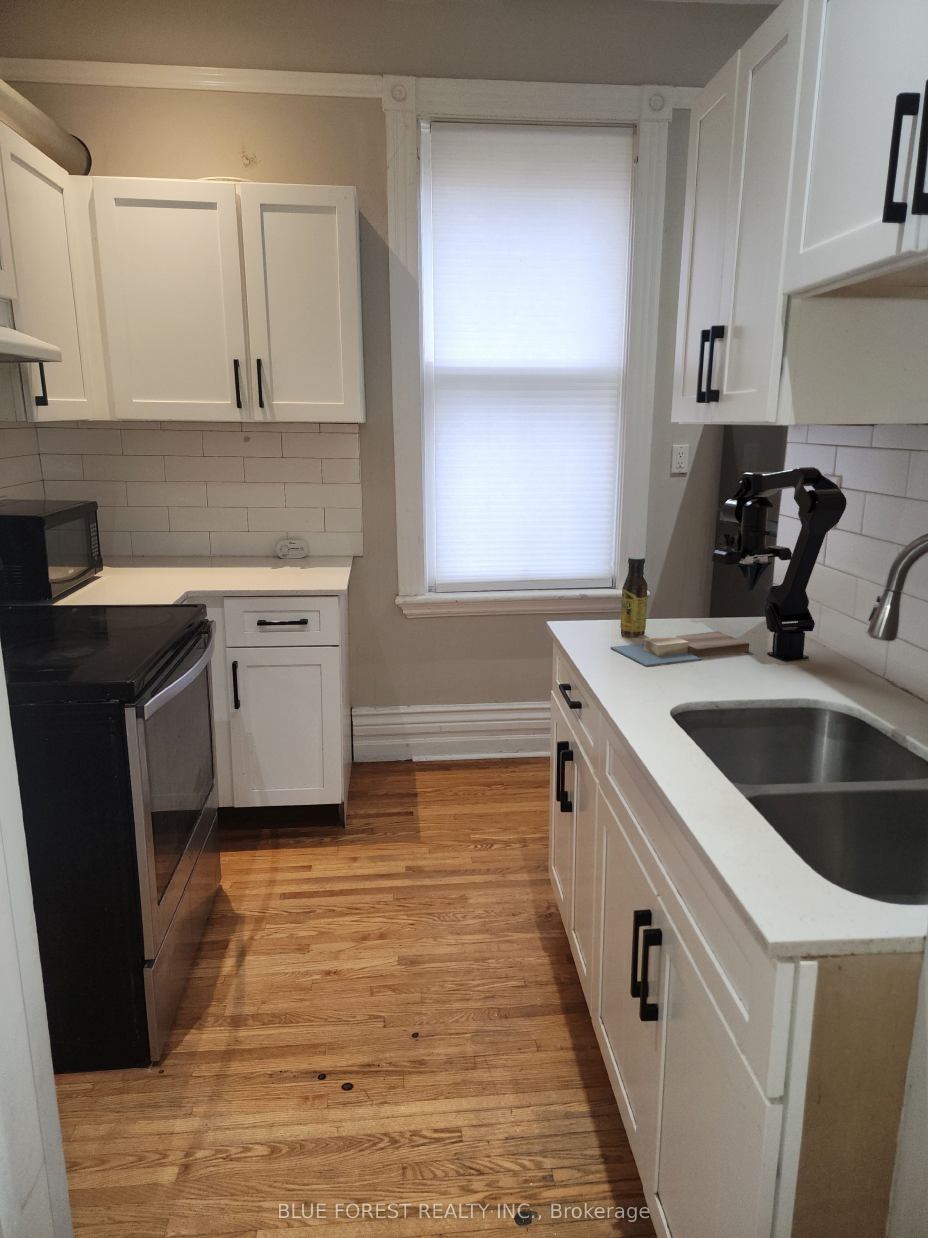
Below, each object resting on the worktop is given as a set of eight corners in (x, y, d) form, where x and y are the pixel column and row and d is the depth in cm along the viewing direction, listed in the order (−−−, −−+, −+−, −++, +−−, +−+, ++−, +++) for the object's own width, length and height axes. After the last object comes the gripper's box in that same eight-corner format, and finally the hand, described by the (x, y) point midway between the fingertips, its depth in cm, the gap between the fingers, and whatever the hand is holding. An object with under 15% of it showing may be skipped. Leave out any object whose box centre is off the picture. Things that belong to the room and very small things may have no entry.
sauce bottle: (616, 633, 206) (618, 555, 201) (639, 631, 207) (642, 554, 202) (626, 639, 200) (628, 559, 195) (649, 637, 201) (653, 558, 196)
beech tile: (688, 652, 186) (688, 641, 185) (657, 656, 183) (657, 645, 183) (673, 646, 191) (673, 635, 191) (643, 649, 189) (644, 639, 188)
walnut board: (748, 651, 187) (749, 643, 187) (696, 657, 183) (697, 649, 182) (717, 639, 198) (717, 631, 198) (667, 644, 194) (667, 636, 193)
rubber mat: (701, 660, 181) (701, 658, 181) (645, 666, 177) (645, 664, 177) (662, 642, 196) (662, 641, 196) (610, 648, 191) (610, 646, 191)
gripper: (764, 520, 202) (760, 581, 206) (700, 524, 197) (697, 587, 200) (795, 525, 192) (790, 589, 196) (728, 529, 186) (724, 595, 190)
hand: (749, 590), depth 196 cm, fingers closed
